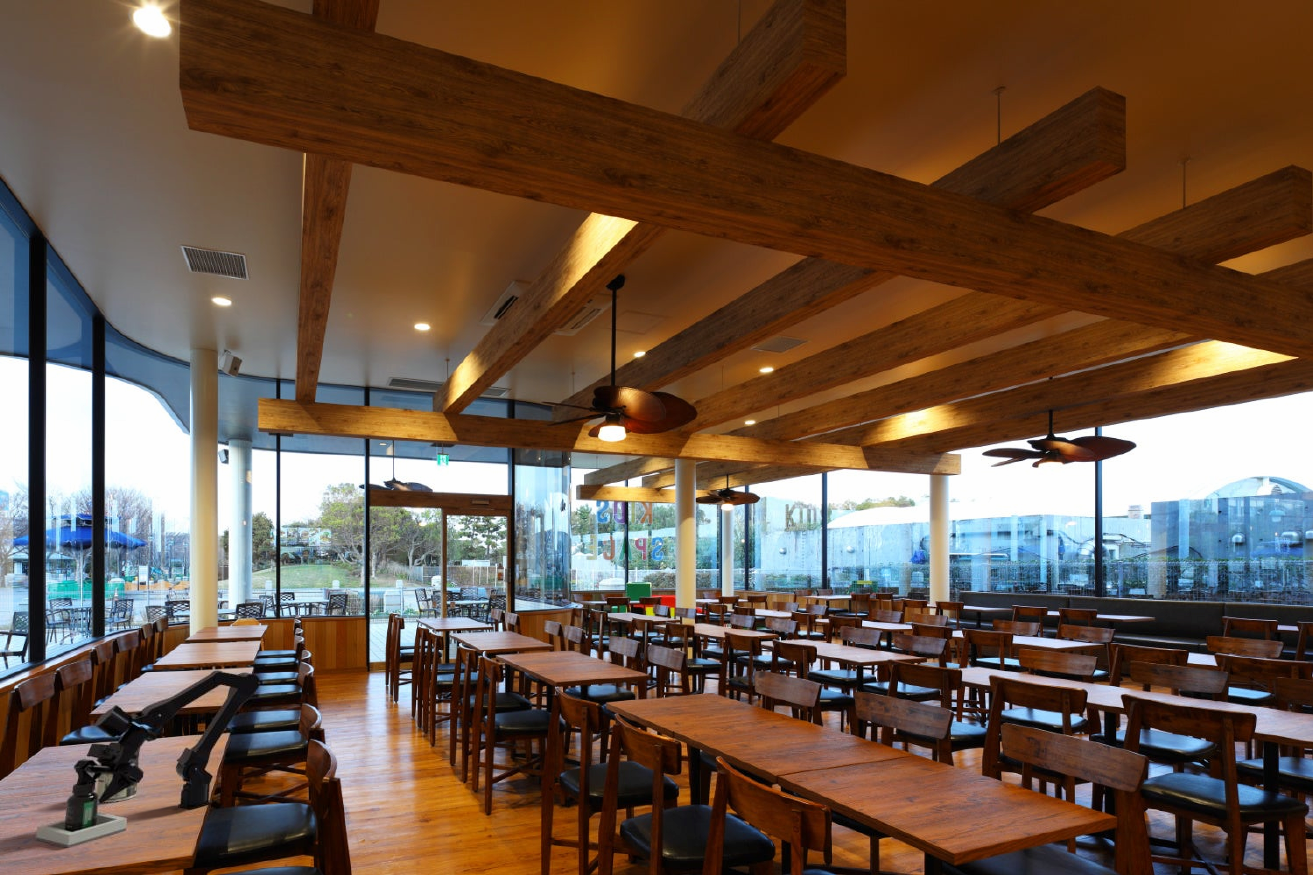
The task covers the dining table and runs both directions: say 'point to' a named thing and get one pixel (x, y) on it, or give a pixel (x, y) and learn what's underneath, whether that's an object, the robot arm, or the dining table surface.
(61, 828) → the tray
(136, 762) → the coffee can
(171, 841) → the dining table surface
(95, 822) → the supplement bottle
